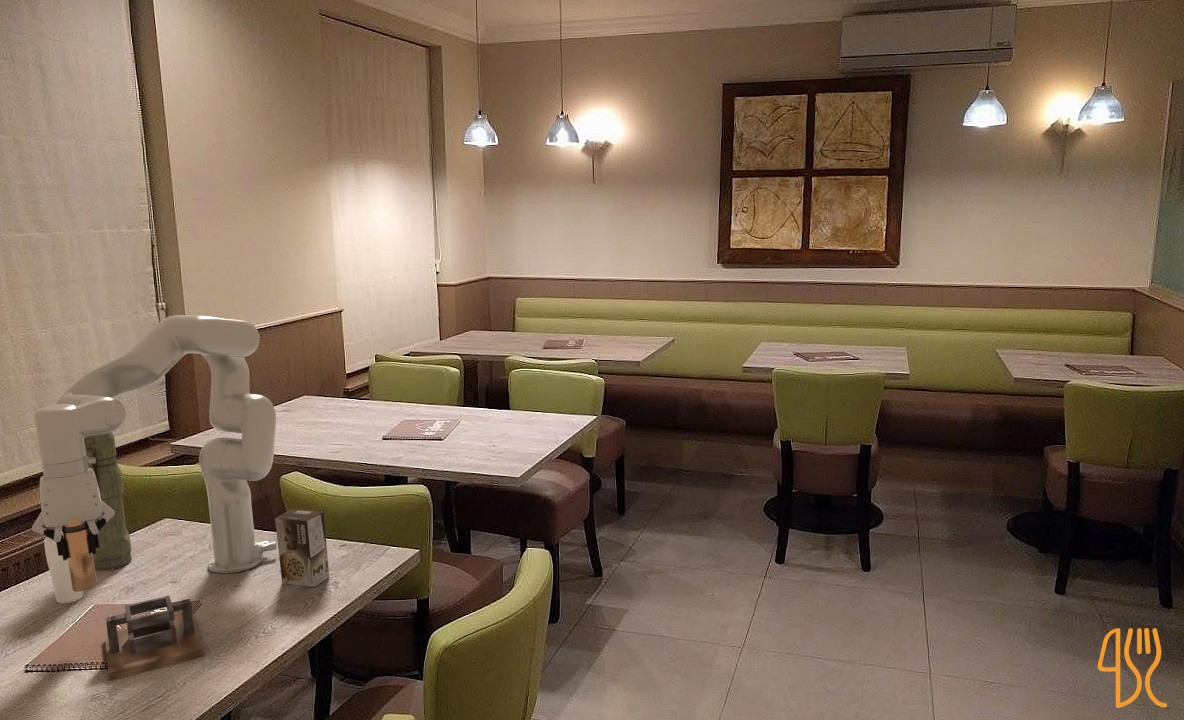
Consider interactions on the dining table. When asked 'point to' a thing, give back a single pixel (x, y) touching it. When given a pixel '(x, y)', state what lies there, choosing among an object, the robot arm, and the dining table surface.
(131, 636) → the collar stand
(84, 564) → the tan cylinder
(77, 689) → the dining table surface
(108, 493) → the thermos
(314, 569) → the coffee box
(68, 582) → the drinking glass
